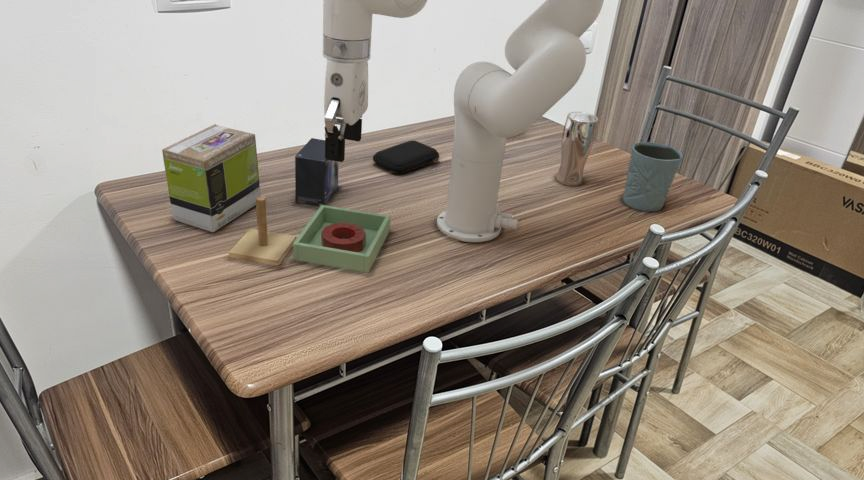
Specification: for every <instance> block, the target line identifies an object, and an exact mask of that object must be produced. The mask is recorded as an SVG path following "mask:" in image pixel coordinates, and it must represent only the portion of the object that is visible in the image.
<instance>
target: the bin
mask: <svg viewBox="0 0 864 480" xmlns="http://www.w3.org/2000/svg"><path fill="white" fill-rule="evenodd" d="M334 223H351V224H356V225H358V226H359V227H361V228H363V229H364V231H365V233H366V245H365V247H364V249H363V250H362V251H361V252H352V251H346V250H340V249H334V248H328V247H323V246H322V244H321V232H322V231H323V229H324V228H325V227H326V226H329V225H331V224H334ZM390 231H391V215H387V214H381V213H376V212H368V211H363V210H356V209H351V208H344V207H338V206H332V205H321V206H320V207H319V208H318V209H317V210H316V212H314V214H313V215H312V217H311V218H310V220H309V221H308V222H307V224H305V227H304V228H303V229H302V230H301V232H300V233H299V234H298V235H297V236H296V240H295V241H294V243H293V246H292V260H293V261H299V262H304V263H309V264H315V265H321V266H327V267H331V268H337V269H338V268H339V269H344V270H350V271H354V272H361V273H367V274H368V273H369V272H370V271H371V268H372V267H373V265H374V263H375V260H376V259H377V257H378V255H379V254H380V251H381V249H382V247H383V245H384V243H385V241H386V239H387V237H388V235H389V233H390ZM343 239H345V238H343Z"/></svg>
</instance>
